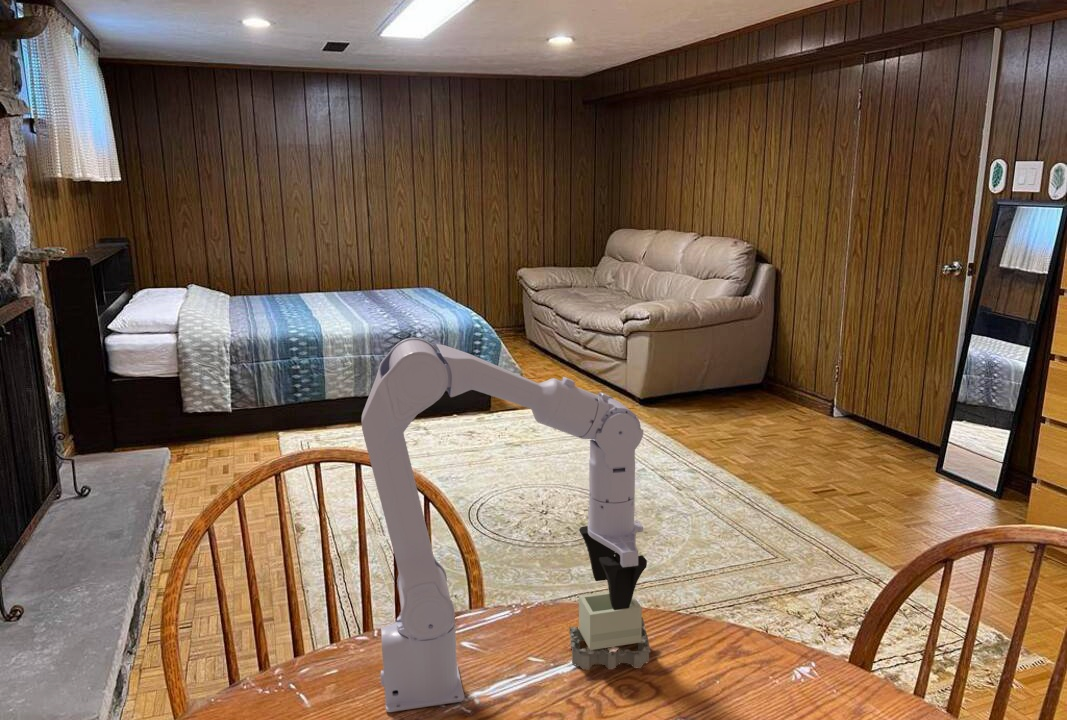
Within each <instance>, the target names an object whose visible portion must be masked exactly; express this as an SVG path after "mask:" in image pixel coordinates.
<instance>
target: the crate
mask: <svg viewBox="0 0 1067 720" xmlns="http://www.w3.org/2000/svg"><path fill="white" fill-rule="evenodd" d="M642 614H643V609H642V606H641V605H640V603H639V601H638V600H637V598H636V597H635V596H634V595H633V597H632V600H631V604H630V607H629V608H628V609H621V610H613V608H612V605H611V602H610V596H609V591H604V592H597V593H589V594H581V595H578V629H579V630H580V632H581V634H582V636H583V638H584V640H585V641H584V642H585V643H586V646H587V648H588V647H589V649H590V650H594V649H600V648H605V649H606V648H612V647H618V646H619V647H620V646H625V645H626V646H627V645H632V644H638V643H640V642H641V627H642Z"/></svg>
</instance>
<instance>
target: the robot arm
mask: <svg viewBox="0 0 1067 720" xmlns="http://www.w3.org/2000/svg"><path fill="white" fill-rule="evenodd" d="M435 345H436V347H437V348H438V350H437V348H436V347H435V346H434V345H433V344H432V343H431V342H430V341H428V340H426V339H424V338H420V337H409V338H405V339H403V340H402V339H401V341H399V342H397V344H395V345H394V346H393V347H392V348H391V350H390V351H389V352H388V353H387V354H386V355H385V356H384V357H383V359H382V360H381V361H380V363H379V366H378V368H377V369H378V370H377V374H376V377H375V379H374V382H373V385H372V387H371V390H370V393H369V395H368V398H367V400H366V403H365V406H364V408H363V411H362V414H361V431H362V434H363V435H362V436H363V438H364V442H365V445H366V449H367V455H368V457H369V462H370V465H371V470H372V473H373V477H374V480H375V484H376V489H377V492H378V496H379V501H380V504H381V508H382V511H383V516H384V519H385V523H386V527H387V531H388V536H389V538H390V543H391V546H392V551H393V554H394V557H395V558H394V559H395V561H396V567H397V572H398V576H397V582H396V583H397V584H396V585H397V590H398V594H399V603H400V612H399V615H398V616H397V618H396V621H395V622H393V623H391V624H387V625H386V626H382V627H380V632H381V633H380V634H381V650H382V655H381V656H382V667H383V670H382V669H381V670H380V682H381V684H380V685H381V687H384V702H385V703H384V704H385V712H387V713H393V712H401V711H405V710H413V709H420V708H426V707H433V706H441V705H446V704H455V703H460V702H463V701H464V700H465V693H464V687H463V685H462V680H461V676H460V671H459V667H458V666H459V665H458V660H457V659H458V658H457V632H456V615H455V606H454V603H453V601H452V599H451V596H450V595H451V594H450V592H449V586H448V579H447V578H448V577H447V572H446V571H445V568H444V567H443V565H441V563H439V561H438V560H437V559H436V557H435V554H434V551H433V548H432V544H431V540H430V535H429V532H428V528H427V524H426V521H425V520H426V519H425V516H424V512H423V508H422V505H421V504H422V503H421V499H420V495H419V491H418V488H417V483H416V478H415V475H414V474H415V473H414V471H413V467H412V466H413V465H412V463H411V458H410V455H409V454H410V453H409V451H408V446H407V442H406V438H405V434H404V433H405V431H406V430H407V429H408V427H409V426H410V424H411V423H412V422H413V420H414V419H415V418H416V417H417V415H418V414H421V413H422V412H423V411H425V410H426V409H428V408H429V407H431V406H432V405H434V404H435V403H436V402H437V401H439V400H440V399H441V398H442V397H443V395H444V394H445V392H446V391H447V393H448V395H449V397H450V398H454V397H457V396H459V395H462V394H464V393H466V392H469V391H475V392H478V393H482V394H485V395H488V396H491V397H494V398H497V399H501V400H504V401H507V402H510V403H513V404H516V405H518V406H522V407H525V408H528V409H531V412H532V415H533V419H534V420H535V421H536V422H537V423H539V424H541V425H544V426H546V427H550V428H552V429H554V430H558V431H560V432H564V433H565V434H567V435H571V436H573V437H576V438H579V439H582V440H589V461H588V462H589V463H588V464H589V468H588V469H589V471H588V473H589V479H588V480H589V482H588V483H589V486H588V487H589V488H588V489H589V491H588V492H589V493H588V494H589V495H588V496H589V497H588V498H589V501H588V503H589V504H588V507H587V508H588V510H587V511H588V513H587V514H588V515H587V516H588V517H587V518H588V519H587V520H588V523H587V525H584V526H581V527H580V528H579V529H578V531H579V532H580V534H581V537H582V539H583V541H584V544H585V546H586V549H587V553H588V556H589V557H588V558H589V561H590V567H591V572H592V575H593V579H594V580H595V582H602V581H607V587H608V592H609V596H610V602H611V605H612V608H613V610H621V609H628V608H629V607H630V604H631V600H632V597H633V596H634V592H635V590H636V587H637V583H638V581H639V579H640V578H641V575H642V573H643V572H644V571H645V569H646V568H647V564H648V560H647V559H646V557H645V556H644V555H643V554H642V555H639V549H638V548H637V546H636V545H637V544H636V541H637V540H636V535H637V534H638V533H642V532H643V531H644V525H643V524H642V523H641V522H640V521H638V520H636V521H635V506H636V505H635V504H636V503H635V498H636V497H635V496H636V495H635V494H636V460H635V459H636V449H637V448H638V447H639V445H640V443H641V442H642V440H643V438H644V437H643V436H644V429H642V426H641V422H640V420H639V417H638V416H637V415H636V414H635V412H633V411H632V410H631V409H630V408H628V407H627V406H626V405H624V404H623V403H622V402H621V401H619V400H617V399H615V398H614V397H613V396H611V395H608V394H606V393H604V392H602V391H601V392H599V393H598V394H596V393H593V392H591V391H589V390H585V389H583V388H581V387H578V386H576V382H575V381H574V380H573V379H572V378H568V377H566V376H563V377H562V380H559V379H558V378H554V377H552V378H549V379H548V380H545V381H542V382H536V381H534V380H532V379H529V378H527V377H524V376H522V375H520V374H519V373H515V372H513V371H510V370H508V369H506V368H504V367H501V366H499V365H496V364H494V363H492V362H489V361H487V360H485V359H482V358H481V357H478V356H475V355H473V354H471V353H468V352H466V351H463V350H460V349H457V348H454V347H451V346H448V345H445V344H441V343H440V344H439V343H436V344H435ZM438 351H439V352H438Z"/></svg>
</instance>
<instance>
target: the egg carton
mask: <svg viewBox="0 0 1067 720" xmlns="http://www.w3.org/2000/svg"><path fill="white" fill-rule="evenodd" d="M568 629H569V632H568V633H569V637H570V649H571V648H572V650H571V664H572V663H573V664H576V665H575V666H577V665H579V666H580V667H579V666H578V667H579V668H582V669H586V670H587V671H589V670H591V667H593V666H595V665H601V664H602V665H601V666H604V665H606V666H605V667H606V668H608V669H607V670H612V669H611V668H616V669H617V667H618V666H619V665H620V664H619V663H628V664H627V665H629V664H631V665H633V667H634V668H636V667H638V668H641V667H642V668H643V665H642V664H644V663H646V662H649V663H650V654H651V653H652V652H651V647H650V642H649V638H648V634H647V631H646V626H645V620H644V617H642V627H641V642H640V643H637V650H631V649H629V648H625V649H621V647H618V649H616V651H610V650H609V649H606V648H600V649H594V650H590V649H589V647H588V646H587V648H581V642H582V641H581V640H584V638H583V636H582V634H581V632H580V630H579V626H569V628H568ZM573 664H572V665H573ZM594 664H595V665H594ZM618 664H619V665H618ZM646 664H647V663H646ZM592 665H593V666H592ZM617 665H618V666H617ZM631 665H630V666H631ZM644 665H645V664H644ZM616 666H617V667H616ZM633 667H632V668H633ZM634 668H633V669H634ZM642 668H641V669H642ZM582 669H581V670H582ZM588 669H589V670H588Z"/></svg>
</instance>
